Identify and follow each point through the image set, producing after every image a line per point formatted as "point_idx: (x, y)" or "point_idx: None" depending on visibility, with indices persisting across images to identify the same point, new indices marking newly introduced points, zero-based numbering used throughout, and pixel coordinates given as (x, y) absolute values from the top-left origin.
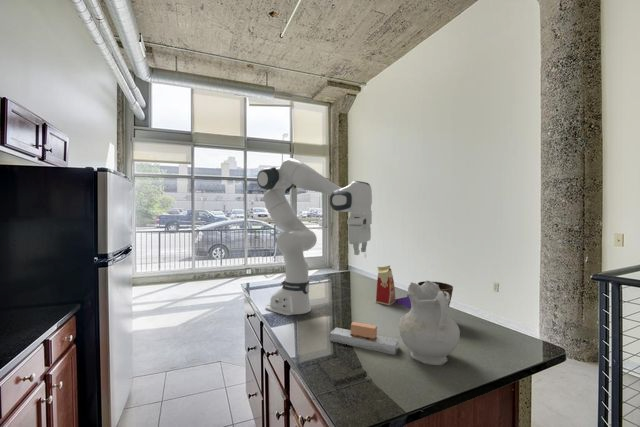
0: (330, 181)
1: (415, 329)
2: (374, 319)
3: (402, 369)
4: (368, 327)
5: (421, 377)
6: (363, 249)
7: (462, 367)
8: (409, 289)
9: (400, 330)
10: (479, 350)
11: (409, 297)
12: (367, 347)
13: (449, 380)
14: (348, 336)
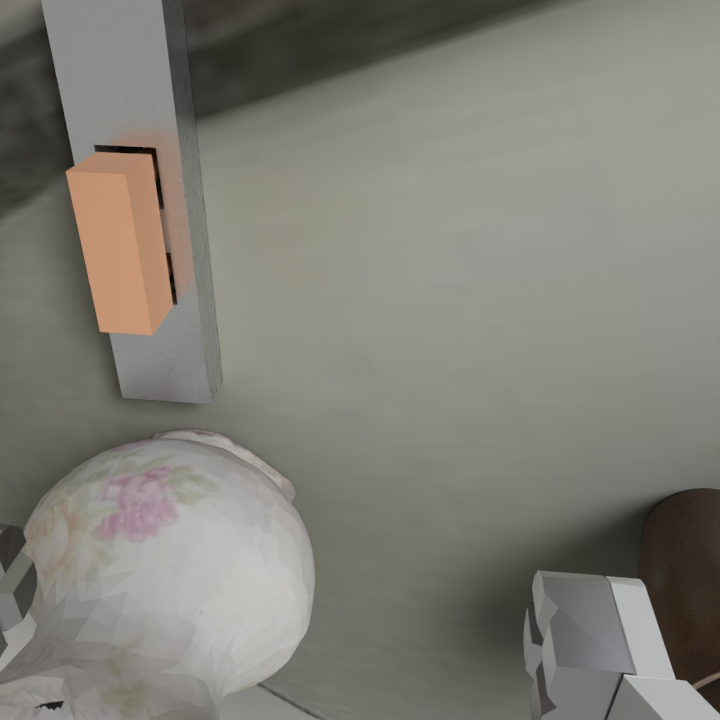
0: None
1: None
2: (613, 192)
3: (37, 407)
4: (94, 293)
5: (29, 464)
6: (539, 673)
7: None
8: (69, 705)
9: (77, 476)
10: (367, 632)
11: (33, 665)
12: None
13: None
14: (73, 141)
